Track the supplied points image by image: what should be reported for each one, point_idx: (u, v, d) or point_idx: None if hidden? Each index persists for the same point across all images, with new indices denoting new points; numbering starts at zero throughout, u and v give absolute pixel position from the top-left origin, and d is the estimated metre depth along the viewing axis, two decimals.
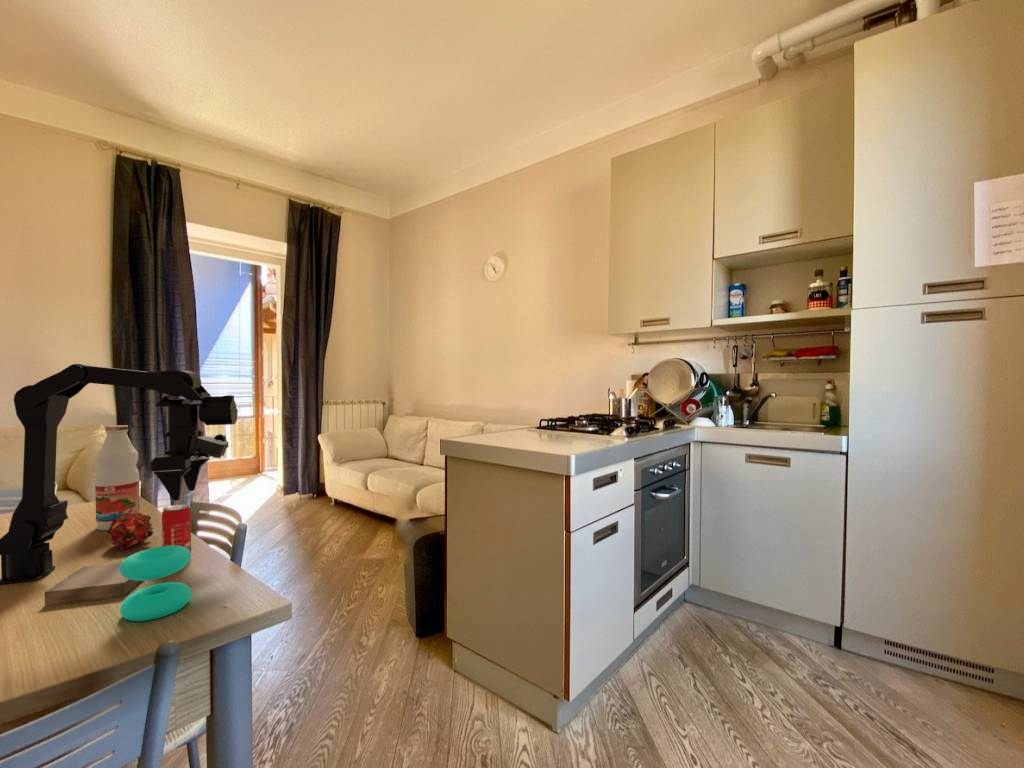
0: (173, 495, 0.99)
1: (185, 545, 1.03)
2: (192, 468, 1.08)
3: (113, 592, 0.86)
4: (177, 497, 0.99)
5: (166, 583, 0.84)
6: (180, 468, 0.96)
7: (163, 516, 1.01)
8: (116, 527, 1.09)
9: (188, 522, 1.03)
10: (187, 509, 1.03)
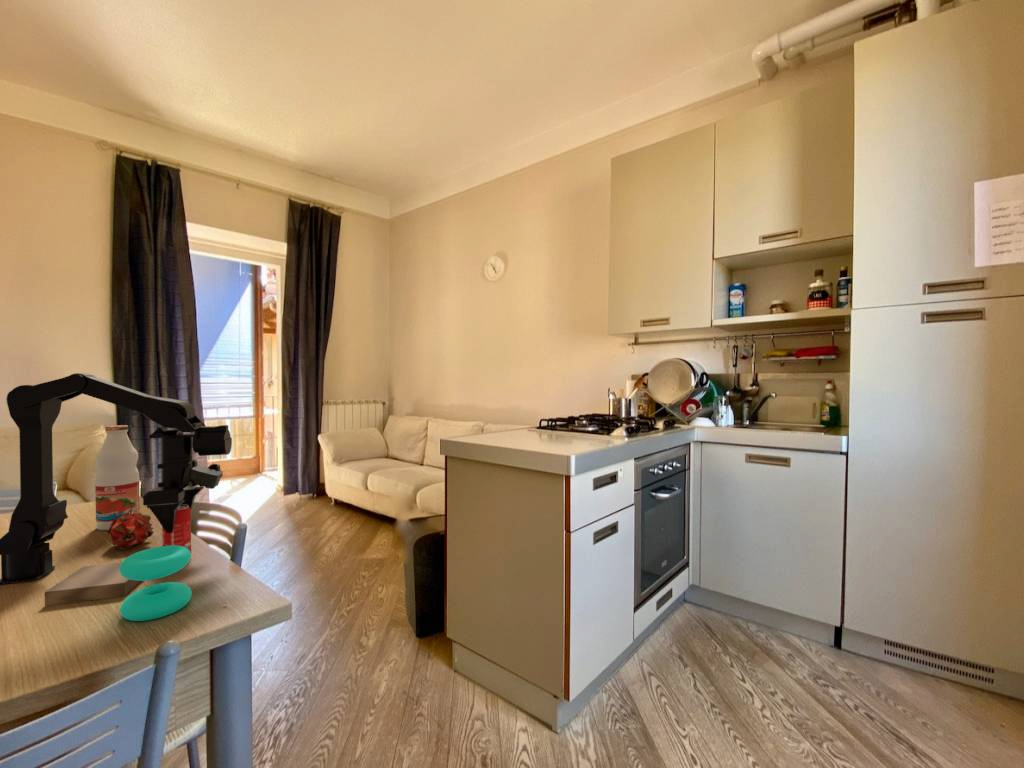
0: (166, 528, 0.98)
1: (185, 545, 1.03)
2: (186, 498, 1.08)
3: (113, 592, 0.86)
4: (171, 530, 0.99)
5: (166, 583, 0.84)
6: (173, 502, 0.95)
7: None
8: (116, 527, 1.09)
9: (188, 522, 1.03)
10: (187, 509, 1.03)
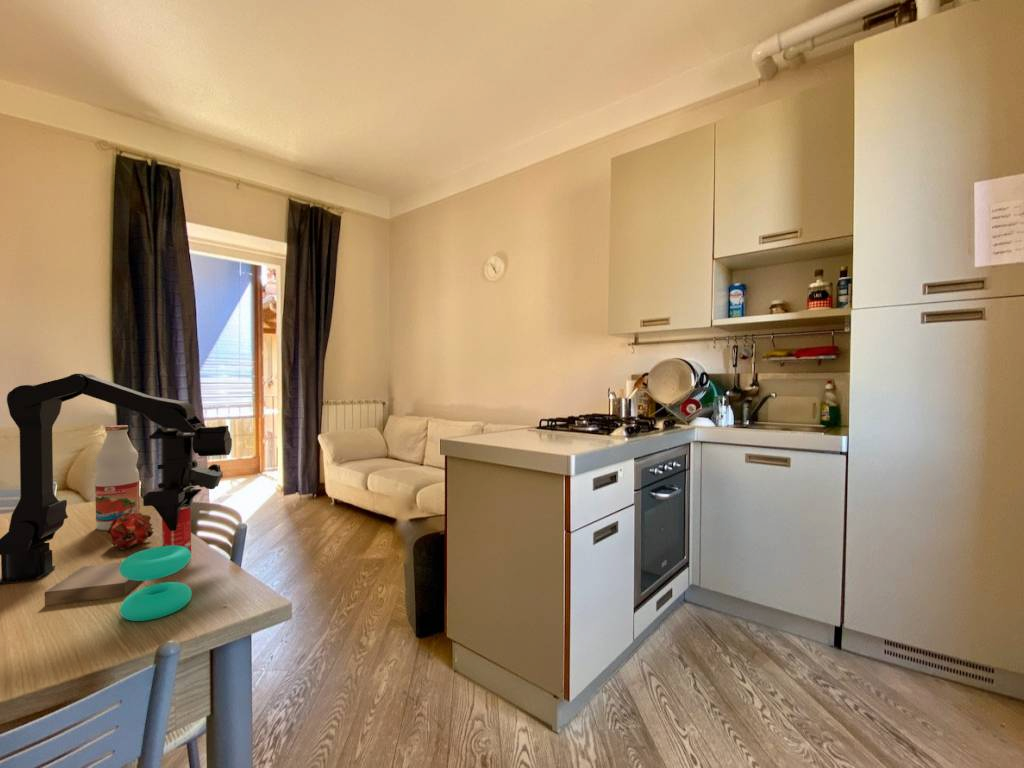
0: (170, 526, 1.00)
1: (185, 545, 1.03)
2: None
3: (113, 592, 0.86)
4: (174, 528, 1.01)
5: (166, 583, 0.84)
6: (173, 502, 0.95)
7: None
8: (116, 527, 1.09)
9: (188, 522, 1.03)
10: (187, 509, 1.03)
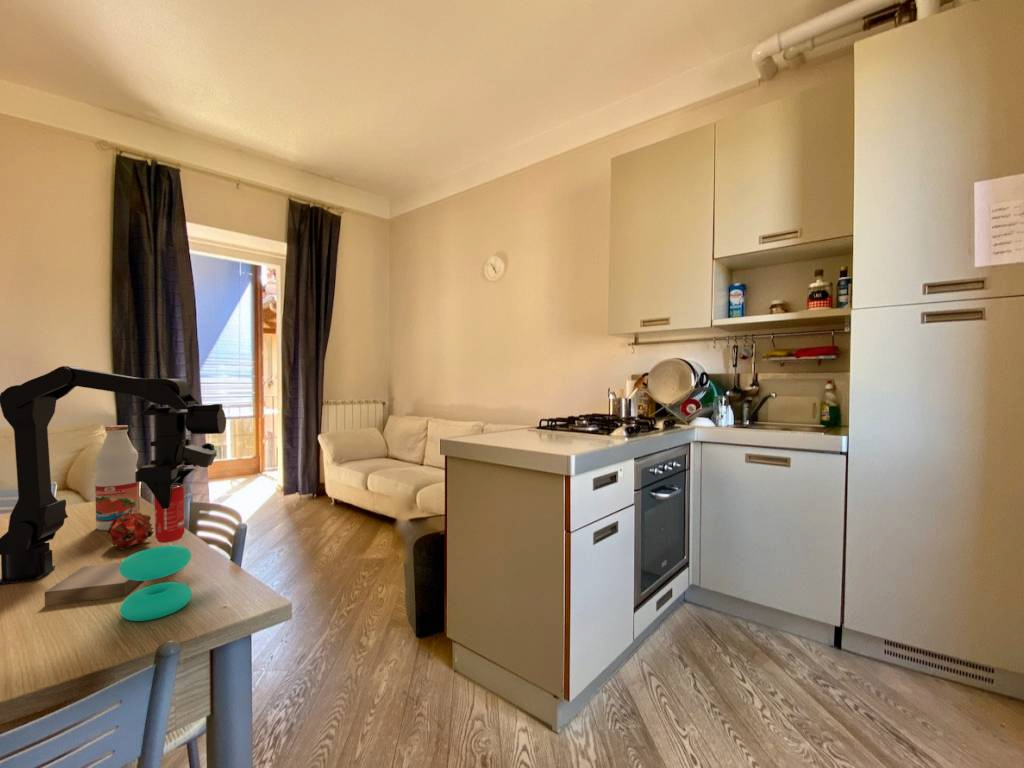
0: (162, 503, 0.99)
1: (178, 524, 1.02)
2: (176, 479, 1.05)
3: (113, 592, 0.86)
4: (167, 506, 0.99)
5: (166, 583, 0.84)
6: (166, 479, 0.94)
7: None
8: (116, 527, 1.09)
9: (181, 501, 1.02)
10: (180, 488, 1.02)
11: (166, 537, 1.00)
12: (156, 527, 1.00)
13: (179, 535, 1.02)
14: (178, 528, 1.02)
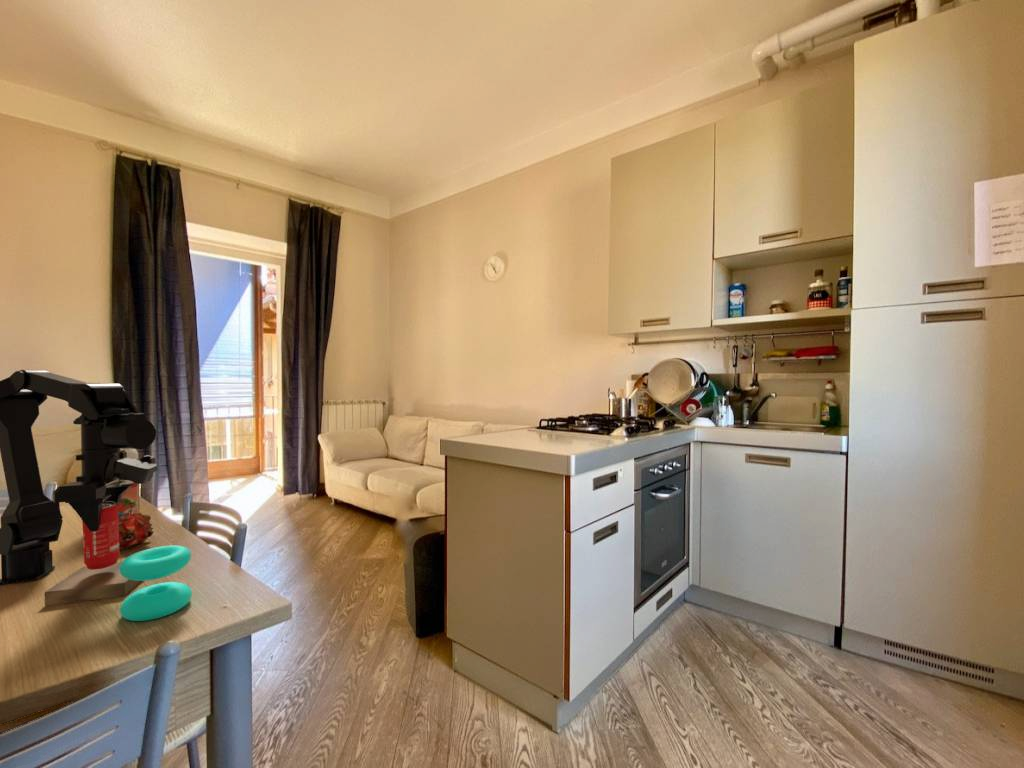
0: (90, 525, 0.87)
1: (111, 548, 0.90)
2: (110, 496, 0.93)
3: (113, 592, 0.86)
4: (95, 528, 0.87)
5: (166, 583, 0.84)
6: (89, 499, 0.82)
7: None
8: None
9: (114, 522, 0.90)
10: (113, 507, 0.90)
11: (96, 563, 0.88)
12: (84, 552, 0.88)
13: (112, 560, 0.90)
14: (111, 552, 0.90)
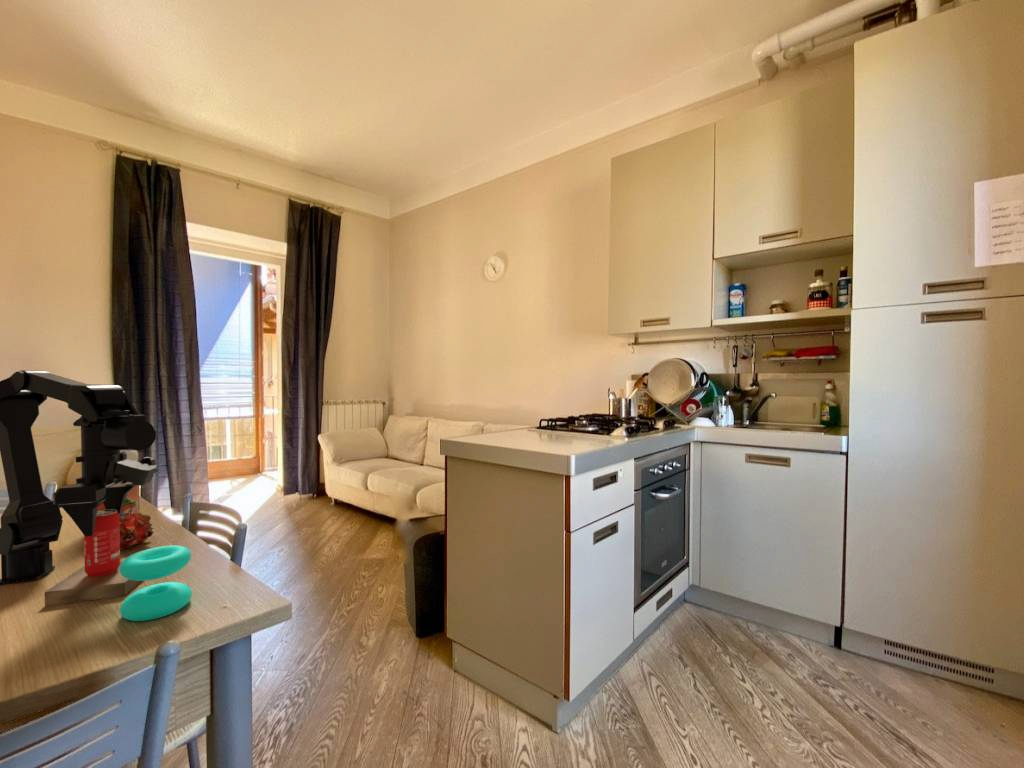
0: (85, 530, 0.85)
1: (112, 556, 0.90)
2: (115, 496, 0.95)
3: (113, 592, 0.86)
4: (90, 533, 0.86)
5: (166, 583, 0.84)
6: (89, 500, 0.82)
7: None
8: None
9: (115, 529, 0.91)
10: (114, 515, 0.91)
11: (97, 571, 0.88)
12: (85, 560, 0.89)
13: (113, 568, 0.90)
14: (112, 560, 0.90)
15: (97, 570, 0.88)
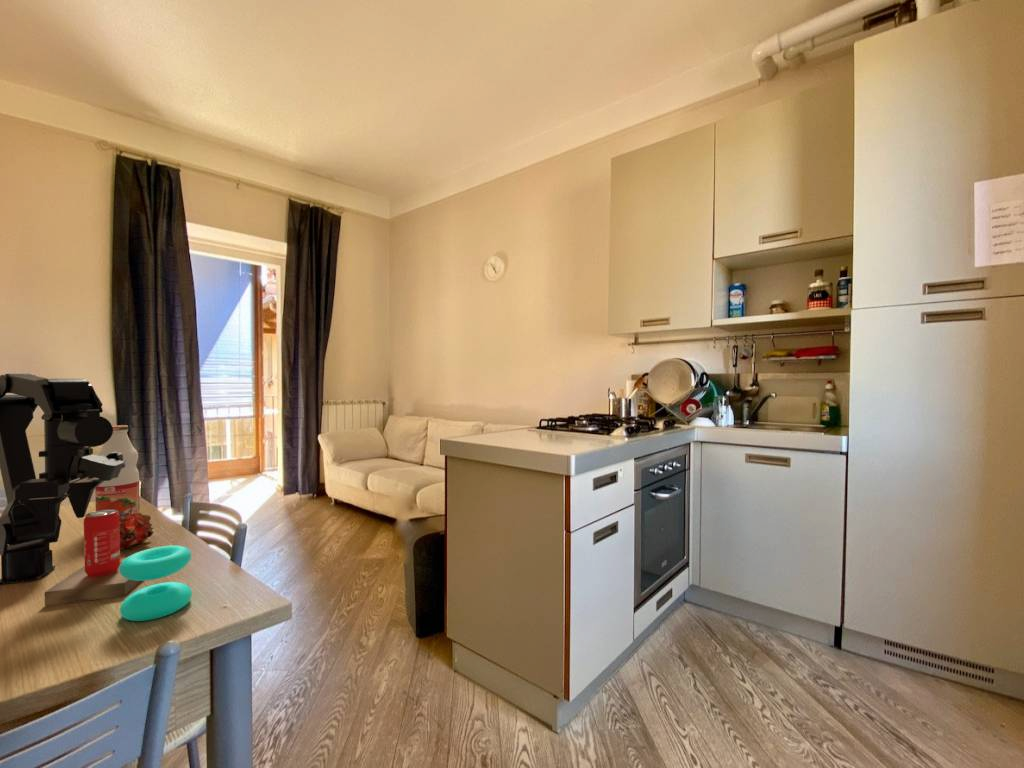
0: (47, 526, 0.84)
1: (112, 556, 0.90)
2: (81, 491, 0.93)
3: (113, 592, 0.86)
4: (52, 529, 0.84)
5: (166, 583, 0.84)
6: (51, 496, 0.80)
7: (85, 523, 0.88)
8: None
9: (115, 529, 0.91)
10: (114, 515, 0.91)
11: (97, 571, 0.88)
12: (85, 560, 0.89)
13: (113, 568, 0.90)
14: (112, 560, 0.90)
15: (97, 570, 0.88)
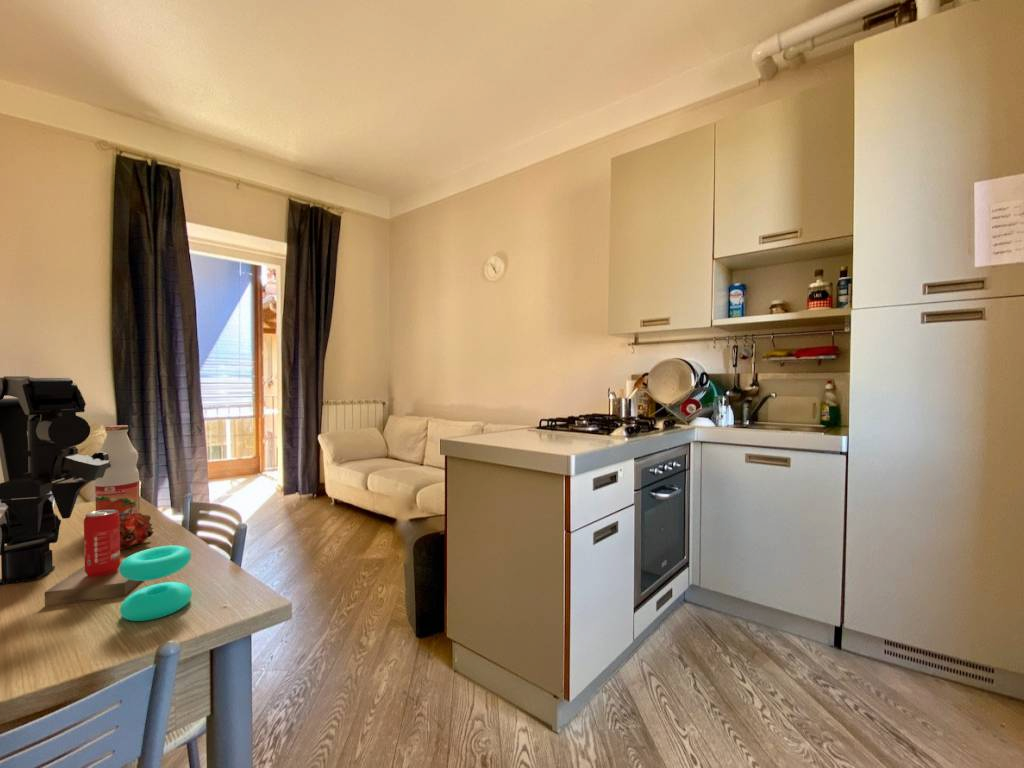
0: (30, 527, 0.83)
1: (112, 556, 0.90)
2: (67, 492, 0.92)
3: (113, 592, 0.86)
4: (35, 529, 0.83)
5: (166, 583, 0.84)
6: (32, 496, 0.80)
7: (85, 523, 0.88)
8: None
9: (116, 529, 0.91)
10: (114, 515, 0.91)
11: (97, 571, 0.88)
12: (85, 560, 0.89)
13: (113, 568, 0.90)
14: (112, 560, 0.90)
15: (97, 570, 0.88)
